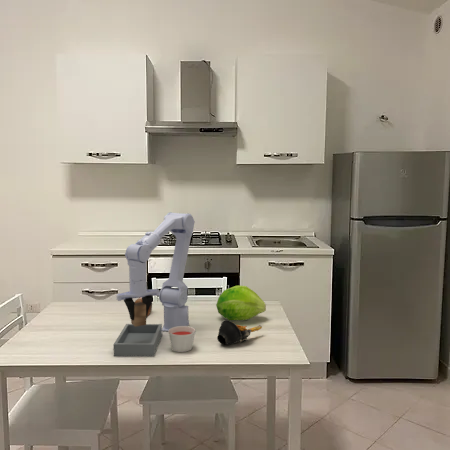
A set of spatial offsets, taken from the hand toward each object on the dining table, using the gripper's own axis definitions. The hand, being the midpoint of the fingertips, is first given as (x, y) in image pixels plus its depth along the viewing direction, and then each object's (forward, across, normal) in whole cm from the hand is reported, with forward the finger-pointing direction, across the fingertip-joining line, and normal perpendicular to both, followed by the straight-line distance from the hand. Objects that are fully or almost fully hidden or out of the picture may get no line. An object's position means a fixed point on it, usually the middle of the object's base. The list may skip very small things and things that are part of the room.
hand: (138, 318), depth 162 cm
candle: (+10, -12, +10) cm, 18 cm away
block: (+2, 0, 0) cm, 2 cm away
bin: (+9, 0, 0) cm, 9 cm away
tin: (+10, -12, -29) cm, 33 cm away
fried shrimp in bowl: (+10, -32, +14) cm, 37 cm away
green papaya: (+10, -45, -7) cm, 47 cm away
